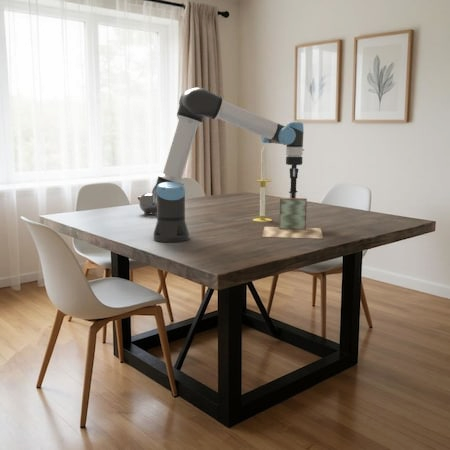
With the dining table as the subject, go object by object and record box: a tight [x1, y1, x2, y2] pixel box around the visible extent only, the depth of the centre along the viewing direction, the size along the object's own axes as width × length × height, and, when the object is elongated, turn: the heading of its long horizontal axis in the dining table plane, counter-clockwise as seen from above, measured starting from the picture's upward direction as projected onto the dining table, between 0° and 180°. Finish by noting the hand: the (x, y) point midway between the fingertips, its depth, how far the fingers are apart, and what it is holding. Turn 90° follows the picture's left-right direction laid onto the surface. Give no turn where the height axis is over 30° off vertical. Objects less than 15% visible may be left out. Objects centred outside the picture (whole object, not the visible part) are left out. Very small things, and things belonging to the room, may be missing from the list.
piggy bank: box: [137, 192, 157, 217], centre depth 287 cm, size 11×15×12 cm
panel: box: [278, 197, 308, 230], centre depth 249 cm, size 12×3×14 cm, turn 83°
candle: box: [252, 145, 273, 223], centre depth 269 cm, size 10×10×38 cm
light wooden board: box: [261, 226, 324, 240], centre depth 242 cm, size 26×22×1 cm
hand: (292, 206), depth 255 cm, fingers closed
